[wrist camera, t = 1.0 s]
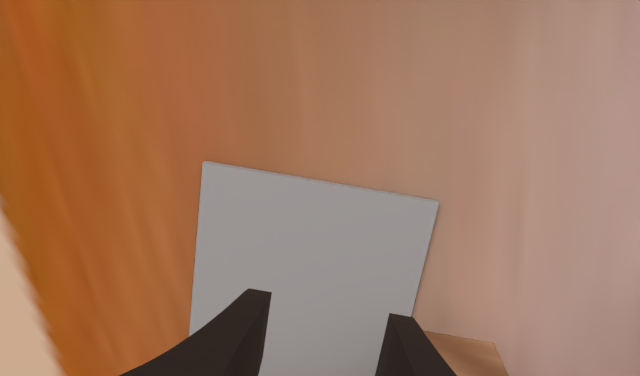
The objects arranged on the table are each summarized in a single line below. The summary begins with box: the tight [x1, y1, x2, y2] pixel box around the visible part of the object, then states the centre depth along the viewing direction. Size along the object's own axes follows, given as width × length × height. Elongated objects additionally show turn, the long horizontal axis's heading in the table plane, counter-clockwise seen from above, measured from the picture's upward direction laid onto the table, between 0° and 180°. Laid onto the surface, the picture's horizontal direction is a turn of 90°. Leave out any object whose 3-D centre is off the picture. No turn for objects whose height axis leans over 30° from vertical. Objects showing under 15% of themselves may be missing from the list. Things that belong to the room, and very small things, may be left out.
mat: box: [189, 161, 439, 376], centre depth 24 cm, size 11×20×1 cm, turn 171°
